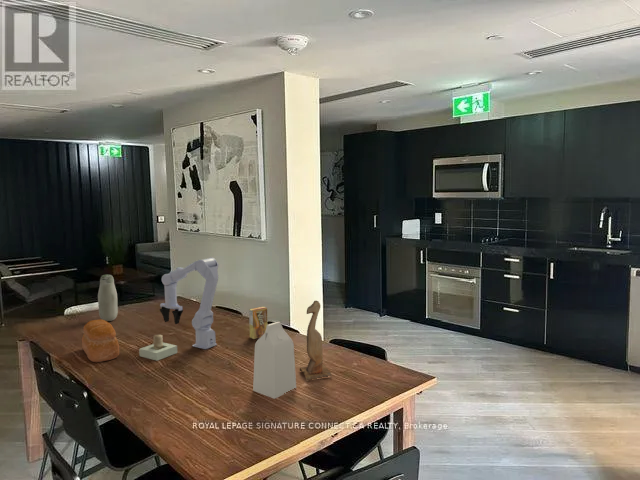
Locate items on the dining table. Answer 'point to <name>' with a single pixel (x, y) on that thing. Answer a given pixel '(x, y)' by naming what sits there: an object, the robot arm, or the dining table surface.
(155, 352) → the socket block
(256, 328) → the candy box
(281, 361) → the milk
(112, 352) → the bread
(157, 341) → the peg
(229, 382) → the dining table surface
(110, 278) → the grey bottle
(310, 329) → the bird sculpture
